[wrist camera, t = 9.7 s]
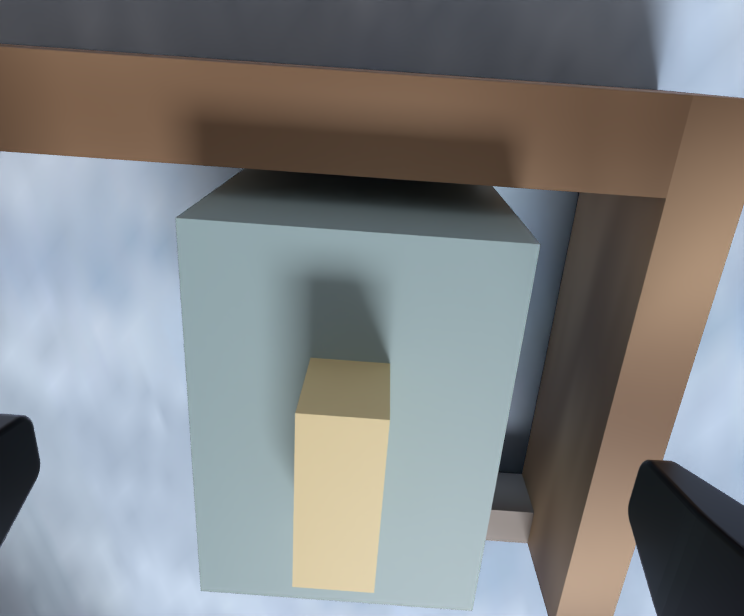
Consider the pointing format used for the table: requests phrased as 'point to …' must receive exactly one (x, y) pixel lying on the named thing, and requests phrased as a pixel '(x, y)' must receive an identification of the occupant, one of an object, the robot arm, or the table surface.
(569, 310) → the cleat board
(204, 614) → the table surface
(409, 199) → the cabinet
